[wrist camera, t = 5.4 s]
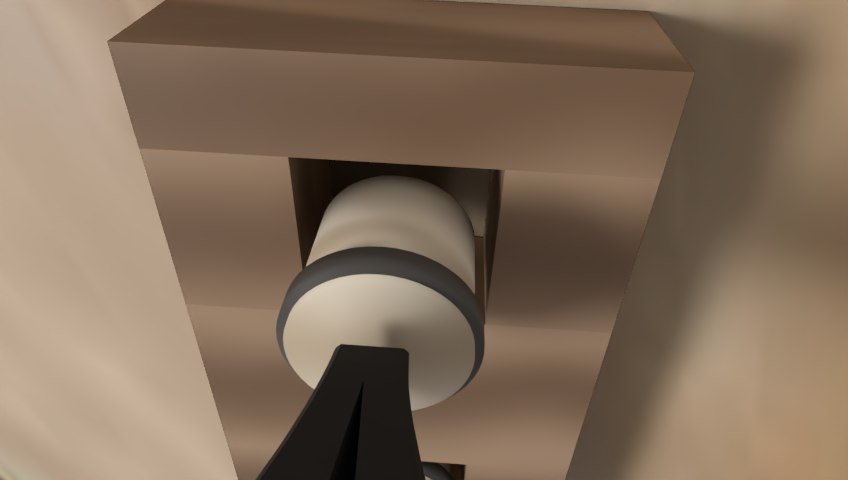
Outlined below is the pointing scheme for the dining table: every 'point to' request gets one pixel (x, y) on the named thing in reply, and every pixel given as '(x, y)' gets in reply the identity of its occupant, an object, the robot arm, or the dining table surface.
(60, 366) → the dining table surface
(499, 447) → the walnut block
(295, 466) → the robot arm
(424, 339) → the birch peg outer
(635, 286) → the dining table surface
